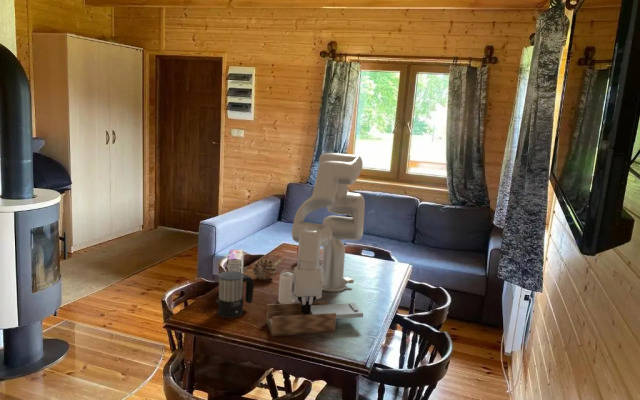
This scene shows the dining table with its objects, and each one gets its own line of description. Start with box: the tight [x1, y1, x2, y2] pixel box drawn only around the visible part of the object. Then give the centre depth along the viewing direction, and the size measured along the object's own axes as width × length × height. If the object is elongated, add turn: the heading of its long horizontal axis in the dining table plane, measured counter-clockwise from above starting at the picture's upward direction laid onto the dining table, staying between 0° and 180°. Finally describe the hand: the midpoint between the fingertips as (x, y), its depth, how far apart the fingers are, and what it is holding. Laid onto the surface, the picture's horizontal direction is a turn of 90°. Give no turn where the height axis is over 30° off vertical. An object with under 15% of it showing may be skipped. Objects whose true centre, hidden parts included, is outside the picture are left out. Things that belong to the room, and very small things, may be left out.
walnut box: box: [266, 300, 337, 337], centre depth 171 cm, size 22×11×7 cm, turn 106°
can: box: [278, 270, 296, 304], centre depth 193 cm, size 6×6×12 cm
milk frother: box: [215, 270, 255, 319], centre depth 183 cm, size 14×16×15 cm
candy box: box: [226, 248, 245, 274], centre depth 199 cm, size 14×6×16 cm, turn 5°
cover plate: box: [309, 302, 364, 320], centre depth 174 cm, size 18×9×2 cm, turn 106°
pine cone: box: [252, 258, 283, 281], centre depth 221 cm, size 22×10×10 cm, turn 161°
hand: (305, 314), depth 172 cm, fingers closed
